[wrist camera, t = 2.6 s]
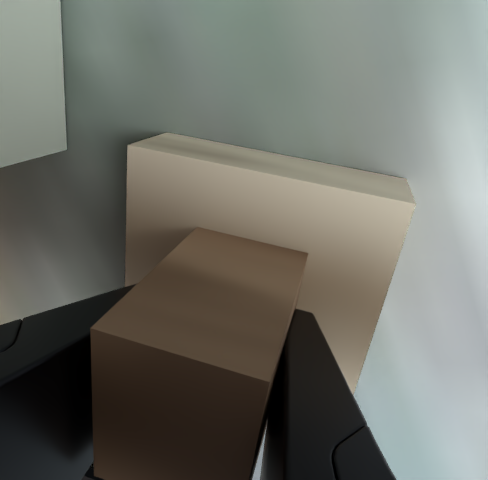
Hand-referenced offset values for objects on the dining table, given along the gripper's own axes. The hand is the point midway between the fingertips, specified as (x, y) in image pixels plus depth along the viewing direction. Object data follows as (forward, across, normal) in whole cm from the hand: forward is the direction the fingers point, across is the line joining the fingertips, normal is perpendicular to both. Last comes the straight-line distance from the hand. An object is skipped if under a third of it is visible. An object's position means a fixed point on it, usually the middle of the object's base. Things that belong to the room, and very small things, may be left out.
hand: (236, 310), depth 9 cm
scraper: (+2, 0, 0) cm, 2 cm away
